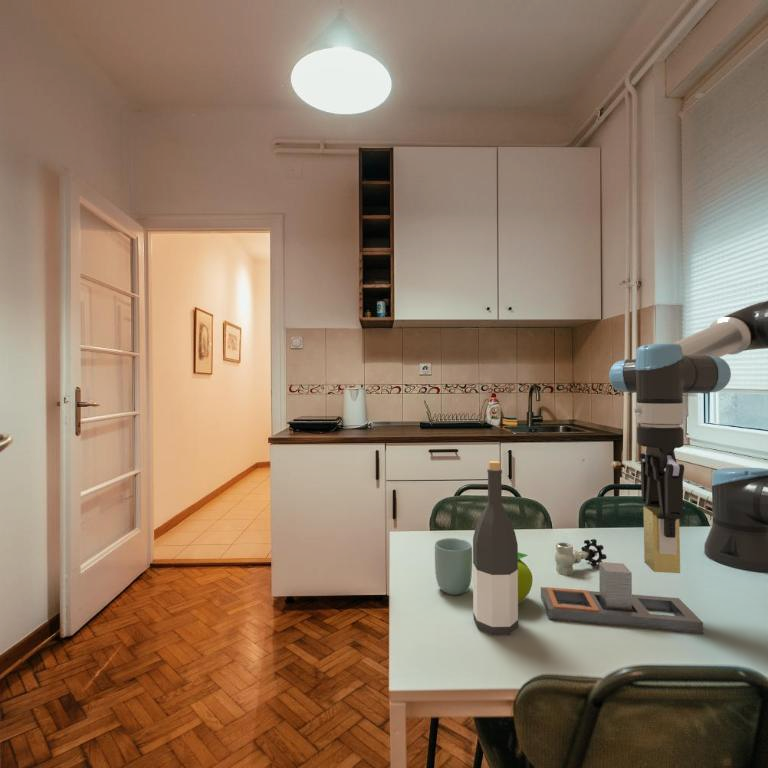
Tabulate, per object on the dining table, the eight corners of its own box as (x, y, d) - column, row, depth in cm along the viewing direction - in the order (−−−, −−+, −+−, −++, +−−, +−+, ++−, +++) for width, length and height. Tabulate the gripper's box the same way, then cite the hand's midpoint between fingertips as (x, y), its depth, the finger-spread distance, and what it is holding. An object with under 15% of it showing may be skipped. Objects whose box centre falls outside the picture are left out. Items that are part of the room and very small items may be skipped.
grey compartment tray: (678, 608, 86) (678, 596, 86) (703, 633, 77) (703, 620, 77) (540, 596, 91) (540, 585, 91) (548, 619, 82) (548, 607, 82)
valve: (568, 580, 99) (606, 571, 104) (568, 551, 99) (606, 543, 104) (547, 569, 105) (584, 561, 110) (547, 541, 105) (584, 534, 110)
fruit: (480, 591, 93) (480, 544, 93) (524, 591, 93) (523, 544, 93) (489, 613, 84) (489, 561, 84) (537, 614, 84) (537, 562, 84)
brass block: (669, 563, 84) (668, 507, 84) (680, 573, 80) (679, 513, 80) (644, 562, 85) (643, 506, 85) (653, 571, 81) (652, 512, 81)
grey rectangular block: (623, 609, 86) (623, 563, 86) (631, 621, 81) (631, 572, 81) (599, 607, 86) (599, 561, 87) (606, 618, 82) (606, 571, 82)
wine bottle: (491, 640, 75) (490, 467, 75) (464, 618, 82) (463, 460, 83) (527, 630, 78) (527, 463, 78) (498, 609, 86) (498, 457, 86)
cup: (449, 602, 88) (449, 553, 88) (428, 587, 95) (428, 541, 95) (479, 594, 92) (479, 546, 92) (457, 579, 99) (456, 535, 99)
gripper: (622, 421, 92) (623, 531, 92) (657, 430, 75) (659, 565, 75) (661, 421, 91) (662, 533, 90) (706, 430, 73) (708, 568, 73)
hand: (661, 547), depth 83 cm, fingers closed on brass block, 4 cm apart
